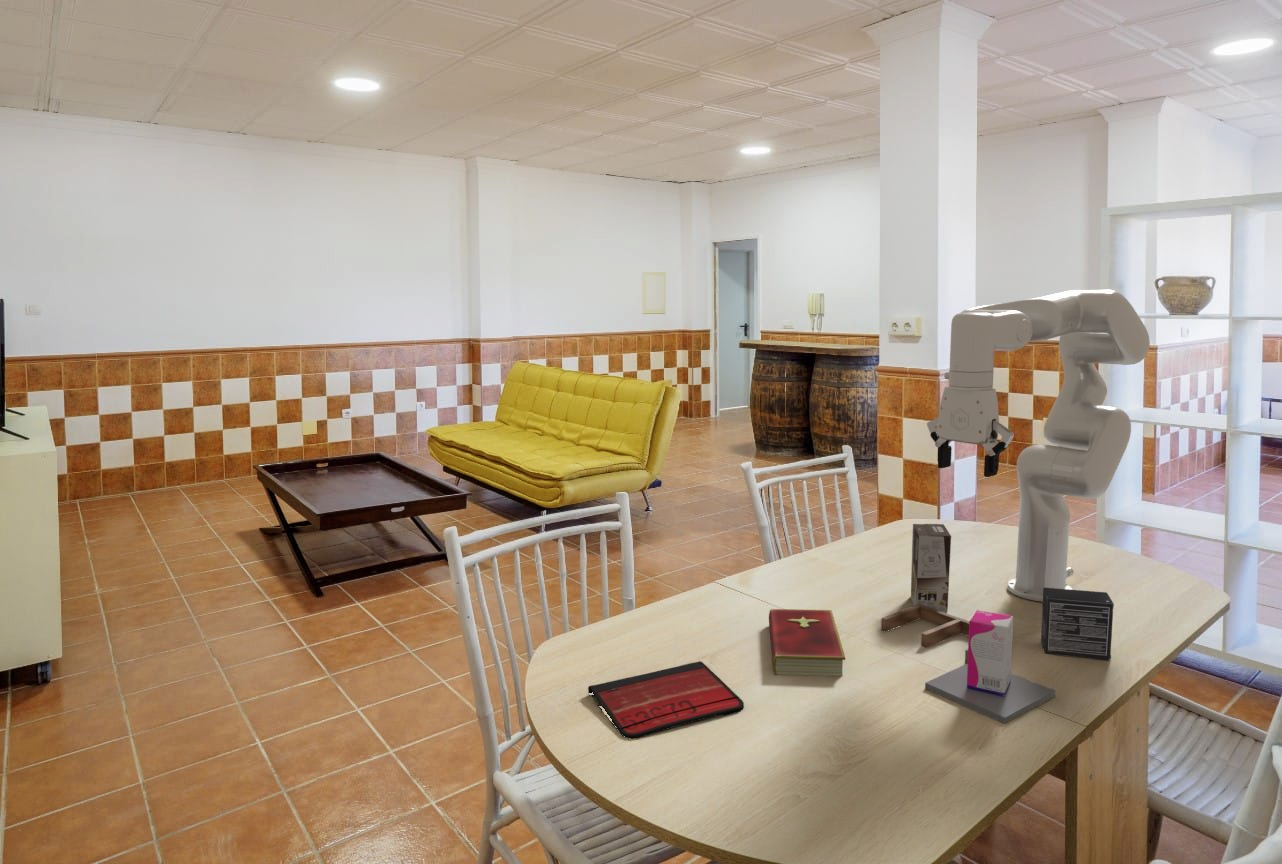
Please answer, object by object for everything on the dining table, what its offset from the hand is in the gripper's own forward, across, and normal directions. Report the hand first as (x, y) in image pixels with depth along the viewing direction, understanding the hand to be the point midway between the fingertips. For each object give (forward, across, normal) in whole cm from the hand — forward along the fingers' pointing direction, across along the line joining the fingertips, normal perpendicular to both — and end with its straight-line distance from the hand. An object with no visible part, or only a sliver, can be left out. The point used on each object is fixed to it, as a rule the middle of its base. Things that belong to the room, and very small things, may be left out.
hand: (966, 471), depth 155 cm
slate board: (+30, +19, -20) cm, 41 cm away
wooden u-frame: (+30, +2, -9) cm, 32 cm away
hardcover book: (+31, -10, -32) cm, 46 cm away
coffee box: (+31, -10, +4) cm, 32 cm away
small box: (+31, +19, +6) cm, 37 cm away
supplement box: (+30, +19, -20) cm, 40 cm away
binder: (+31, -10, -63) cm, 71 cm away
